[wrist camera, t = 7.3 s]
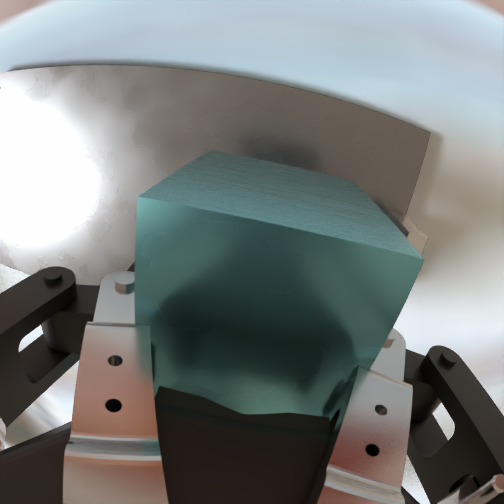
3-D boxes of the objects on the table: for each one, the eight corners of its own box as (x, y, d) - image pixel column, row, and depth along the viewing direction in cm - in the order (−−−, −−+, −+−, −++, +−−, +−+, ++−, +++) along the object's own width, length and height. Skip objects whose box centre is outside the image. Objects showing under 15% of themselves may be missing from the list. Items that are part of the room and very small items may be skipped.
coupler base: (422, 130, 14) (460, 139, 10) (343, 345, 20) (351, 389, 16) (4, 73, 14) (-38, 75, 10) (5, 256, 20) (-27, 280, 16)
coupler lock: (354, 181, 10) (424, 259, 5) (295, 359, 14) (296, 476, 9) (210, 149, 10) (137, 196, 5) (186, 337, 14) (145, 448, 9)
